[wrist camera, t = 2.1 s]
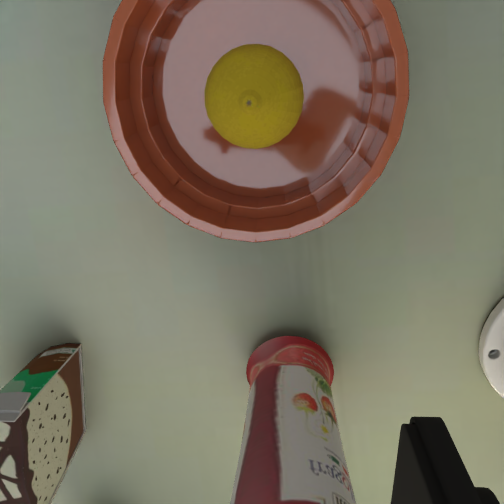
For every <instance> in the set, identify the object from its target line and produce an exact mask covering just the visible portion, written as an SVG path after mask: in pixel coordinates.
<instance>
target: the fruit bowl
mask: <svg viewBox="0 0 504 504" xmlns="http://www.w3.org/2000/svg"><path fill="white" fill-rule="evenodd" d="M245 44H262V45H266V46H271V47H273V48H275V49H277V50H278V51H280V52H282V53H283V54H284V55H285V56H286V57H288V58H289V59H290V60H291V61H292V63H293V64H294V66H295V67H296V69H297V70H298V72H299V74H300V78H301V81H302V84H303V92H304V101H303V107H302V112H301V115H300V117H299V119H298V122H297V124H296V125H295V127H294V128H293V129H292V130H291V132H290V133H289V134H288V135H287V136H286V137H284V138H283V139H282V140H281V141H279V142H277V143H275V144H273V145H271V146H269V147H264V148H258V149H251V148H243V147H240V146H237V145H234V144H232V143H230V142H229V141H227V140H226V139H224V138H223V137H222V136H221V135H220V134H219V133H218V132H217V131H216V130H215V128H214V127H213V125H212V123H211V121H210V120H209V118H208V115H207V111H206V107H205V95H204V91H205V86H206V82H207V78H208V76H209V74H210V72H211V70H212V68H213V66H214V65H215V64H216V62H217V61H218V60H219V59H220V58H221V57H222V56H223V55H224V54H226V53H227V52H229V51H230V50H231V49H233V48H236V47H239V46H242V45H245ZM103 59H104V60H103V102H104V106H105V110H106V114H107V118H108V122H109V126H110V130H111V133H112V137H113V141H114V143H115V145H116V147H117V148H118V150H119V152H120V154H121V156H122V158H123V160H124V162H125V163H126V165H127V167H128V169H129V171H130V173H131V175H133V177H134V179H135V180H136V181H137V182H138V183H139V184H140V185H141V186H142V188H143V189H144V190H145V191H146V192H147V193H148V194H149V196H150V197H151V198H152V199H153V200H154V201H155V202H156V203H157V204H158V205H159V206H161V207H162V208H163V209H165V210H166V211H168V212H169V213H171V214H172V215H173V216H175V217H176V218H178V219H179V220H181V221H182V222H184V223H185V224H188V226H191V227H193V228H196V229H199V230H201V231H204V232H206V233H209V234H212V235H214V236H217V237H219V238H220V237H221V238H223V239H231V240H239V241H247V242H263V241H272V240H280V239H288V238H293V237H296V236H298V235H301V234H303V233H306V232H309V231H311V230H314V229H316V228H319V227H322V226H324V225H325V224H327V223H329V222H330V221H332V220H333V219H334V218H336V217H337V216H339V215H340V214H342V213H343V212H344V211H346V210H347V209H349V208H350V207H352V206H353V205H354V204H355V203H357V202H358V201H359V200H360V198H361V197H362V196H363V195H364V194H365V193H366V191H367V190H368V189H369V188H370V187H371V186H372V185H373V183H374V182H375V181H376V180H377V179H378V178H379V176H380V175H381V173H382V172H383V170H384V168H385V166H386V164H387V162H388V160H389V158H390V156H391V154H392V152H393V150H394V148H395V146H396V144H397V142H398V141H399V138H400V135H401V131H402V127H403V122H404V118H405V113H406V109H407V105H408V100H409V66H408V50H407V46H406V43H405V39H404V36H403V32H402V29H401V26H400V22H399V19H398V15H397V12H396V10H395V7H394V5H393V4H392V2H391V1H390V0H122V2H121V3H120V5H119V7H118V9H117V11H116V13H115V15H114V16H113V20H112V24H111V29H110V33H109V37H108V41H107V45H106V49H105V54H104V58H103Z"/></svg>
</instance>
